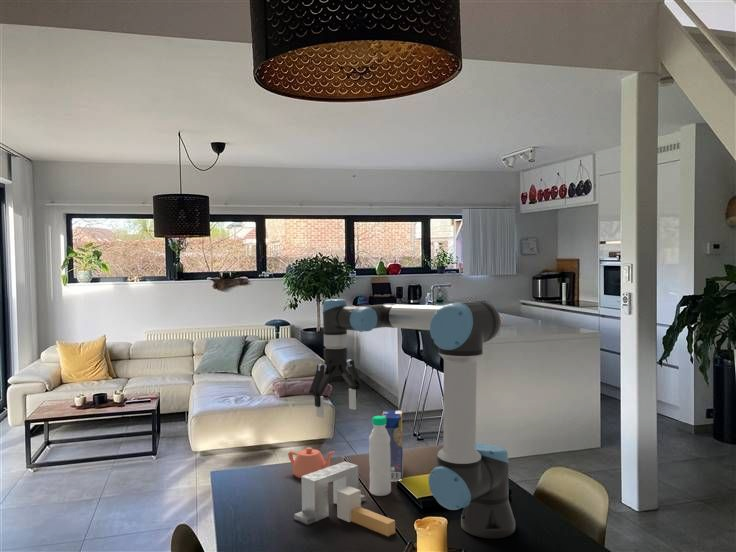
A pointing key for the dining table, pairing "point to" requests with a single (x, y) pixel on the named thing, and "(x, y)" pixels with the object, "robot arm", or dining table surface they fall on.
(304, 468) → the teapot
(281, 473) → the dining table surface
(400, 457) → the beverage box
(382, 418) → the water bottle
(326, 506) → the white arch block
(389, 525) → the mallet
